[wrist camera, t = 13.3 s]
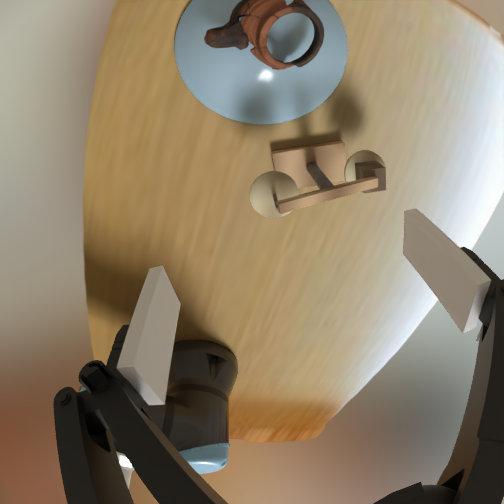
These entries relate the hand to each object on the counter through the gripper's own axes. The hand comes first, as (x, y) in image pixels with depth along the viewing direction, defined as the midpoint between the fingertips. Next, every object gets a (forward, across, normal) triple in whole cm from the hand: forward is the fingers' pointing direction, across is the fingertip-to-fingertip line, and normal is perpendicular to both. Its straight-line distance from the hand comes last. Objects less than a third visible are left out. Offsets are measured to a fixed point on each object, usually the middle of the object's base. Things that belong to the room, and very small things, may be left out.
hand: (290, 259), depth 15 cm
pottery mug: (+23, +4, +15) cm, 28 cm away
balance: (+24, +6, -3) cm, 25 cm away
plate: (+24, +4, +13) cm, 27 cm away
